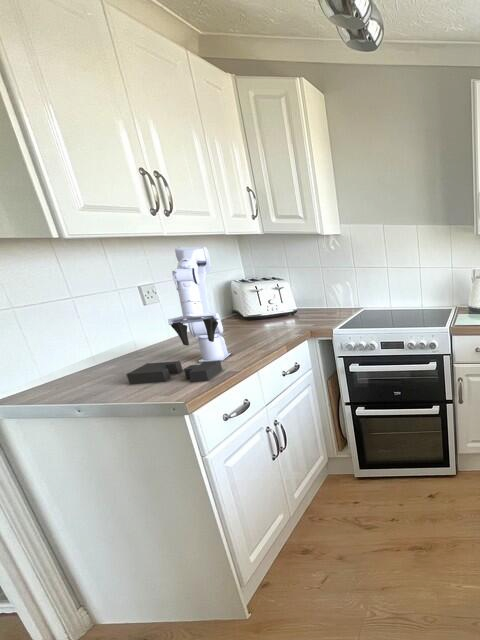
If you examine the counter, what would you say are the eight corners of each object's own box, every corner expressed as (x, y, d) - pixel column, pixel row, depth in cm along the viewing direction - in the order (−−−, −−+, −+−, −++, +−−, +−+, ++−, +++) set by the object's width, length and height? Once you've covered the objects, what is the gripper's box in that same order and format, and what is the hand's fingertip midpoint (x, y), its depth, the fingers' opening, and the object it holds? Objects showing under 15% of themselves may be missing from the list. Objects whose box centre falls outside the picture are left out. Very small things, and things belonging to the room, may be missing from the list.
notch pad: (149, 372, 145) (146, 363, 144) (182, 370, 147) (180, 361, 146) (129, 384, 134) (126, 374, 133) (165, 381, 136) (162, 371, 135)
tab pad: (197, 371, 146) (194, 362, 145) (222, 369, 148) (220, 360, 146) (181, 382, 135) (178, 372, 134) (208, 380, 137) (205, 370, 135)
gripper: (159, 304, 135) (167, 345, 135) (209, 298, 138) (216, 338, 138) (172, 308, 141) (179, 347, 142) (219, 302, 145) (226, 340, 145)
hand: (198, 343), depth 140 cm, fingers open, 7 cm apart
